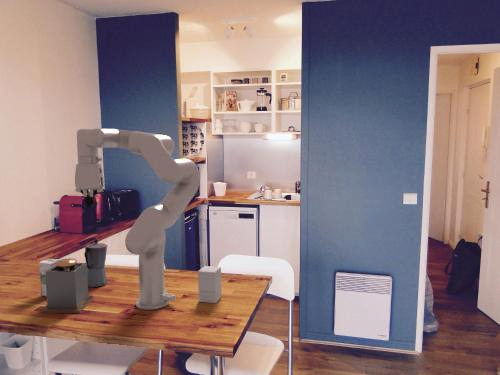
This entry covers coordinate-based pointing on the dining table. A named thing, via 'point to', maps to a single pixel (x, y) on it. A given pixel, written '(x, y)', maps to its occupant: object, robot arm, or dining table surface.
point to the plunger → (66, 263)
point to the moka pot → (96, 263)
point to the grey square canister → (67, 289)
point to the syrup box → (44, 267)
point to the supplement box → (209, 284)
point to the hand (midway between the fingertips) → (90, 206)
